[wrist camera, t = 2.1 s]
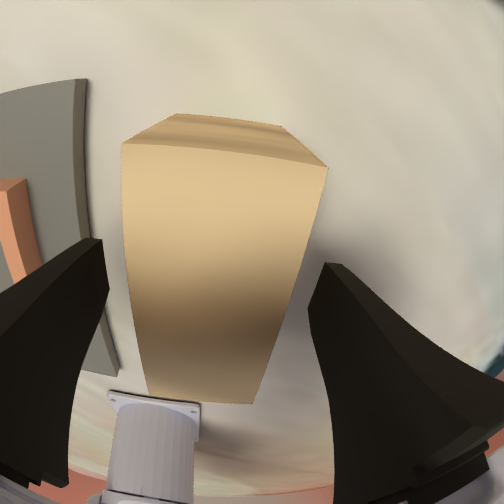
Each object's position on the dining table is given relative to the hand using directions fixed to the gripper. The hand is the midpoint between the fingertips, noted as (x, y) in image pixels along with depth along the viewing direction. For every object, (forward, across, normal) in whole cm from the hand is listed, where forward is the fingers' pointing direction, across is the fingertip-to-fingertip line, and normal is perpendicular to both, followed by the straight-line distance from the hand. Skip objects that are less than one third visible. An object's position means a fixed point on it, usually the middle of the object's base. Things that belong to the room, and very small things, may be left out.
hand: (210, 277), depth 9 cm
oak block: (+4, 0, 0) cm, 4 cm away
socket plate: (+4, +16, +3) cm, 17 cm away
